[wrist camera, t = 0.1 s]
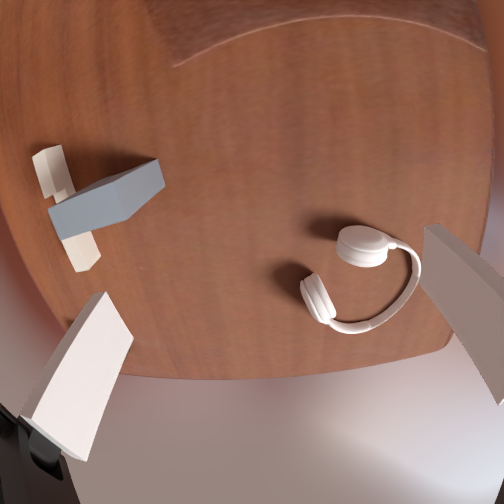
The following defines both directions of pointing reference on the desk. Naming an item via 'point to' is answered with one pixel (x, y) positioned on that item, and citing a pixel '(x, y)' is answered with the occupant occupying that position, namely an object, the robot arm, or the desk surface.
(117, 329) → the robot arm
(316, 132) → the desk surface
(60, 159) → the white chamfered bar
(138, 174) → the blue-grey rectangular block
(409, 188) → the desk surface
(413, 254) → the headphones
